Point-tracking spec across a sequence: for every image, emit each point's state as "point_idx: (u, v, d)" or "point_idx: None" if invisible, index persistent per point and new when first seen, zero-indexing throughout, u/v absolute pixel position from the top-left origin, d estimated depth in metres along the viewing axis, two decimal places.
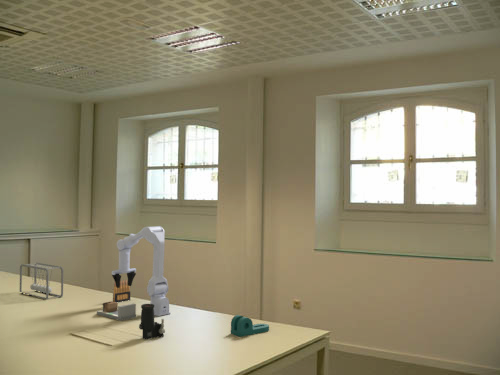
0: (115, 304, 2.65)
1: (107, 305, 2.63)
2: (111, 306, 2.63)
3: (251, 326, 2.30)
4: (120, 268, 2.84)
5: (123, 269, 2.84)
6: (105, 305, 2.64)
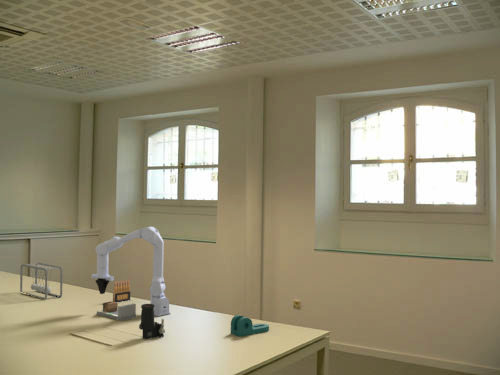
0: (115, 304, 2.65)
1: (107, 305, 2.63)
2: (111, 306, 2.63)
3: (251, 326, 2.30)
4: None
5: (96, 274, 2.70)
6: (105, 305, 2.64)
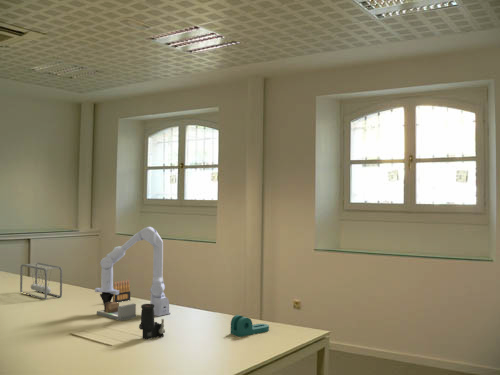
0: (116, 304, 2.64)
1: (108, 305, 2.62)
2: (112, 306, 2.62)
3: (251, 326, 2.30)
4: None
5: (101, 288, 2.67)
6: (106, 305, 2.63)
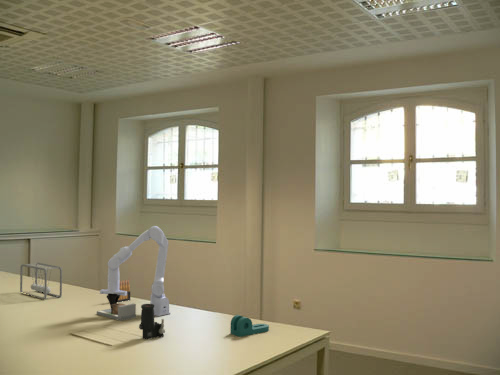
0: None
1: (115, 307, 2.59)
2: None
3: (251, 326, 2.30)
4: None
5: (107, 290, 2.63)
6: (113, 307, 2.60)
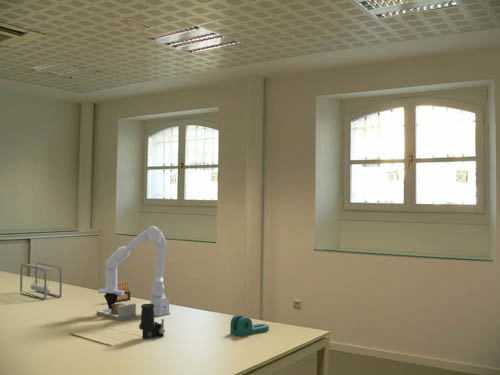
0: None
1: (115, 307, 2.59)
2: None
3: (251, 326, 2.30)
4: None
5: (105, 289, 2.64)
6: (113, 307, 2.60)
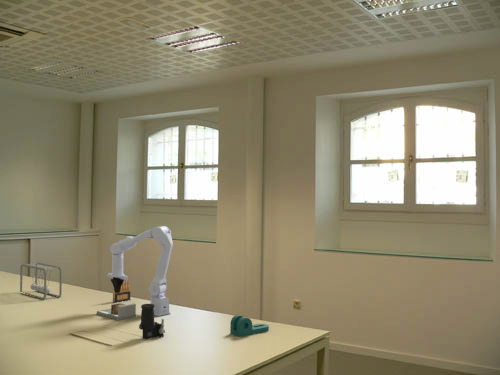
0: None
1: (115, 307, 2.59)
2: None
3: (251, 326, 2.30)
4: None
5: (111, 273, 2.73)
6: (113, 307, 2.60)
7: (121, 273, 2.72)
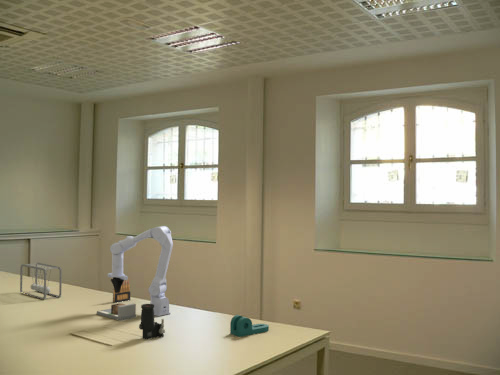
0: None
1: (115, 307, 2.59)
2: None
3: (250, 326, 2.30)
4: None
5: (112, 273, 2.73)
6: (113, 307, 2.60)
7: (121, 273, 2.72)
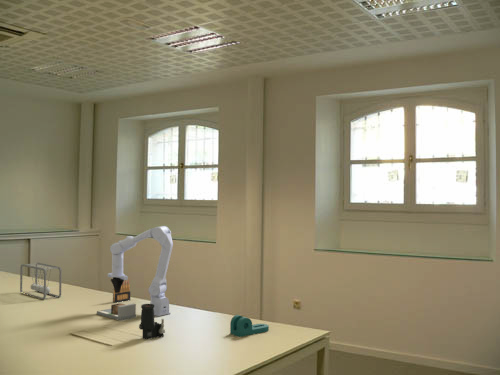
0: None
1: (115, 307, 2.59)
2: None
3: (250, 326, 2.30)
4: None
5: (112, 273, 2.73)
6: (113, 307, 2.60)
7: (121, 273, 2.72)
